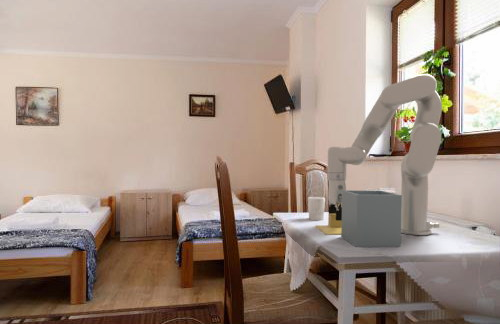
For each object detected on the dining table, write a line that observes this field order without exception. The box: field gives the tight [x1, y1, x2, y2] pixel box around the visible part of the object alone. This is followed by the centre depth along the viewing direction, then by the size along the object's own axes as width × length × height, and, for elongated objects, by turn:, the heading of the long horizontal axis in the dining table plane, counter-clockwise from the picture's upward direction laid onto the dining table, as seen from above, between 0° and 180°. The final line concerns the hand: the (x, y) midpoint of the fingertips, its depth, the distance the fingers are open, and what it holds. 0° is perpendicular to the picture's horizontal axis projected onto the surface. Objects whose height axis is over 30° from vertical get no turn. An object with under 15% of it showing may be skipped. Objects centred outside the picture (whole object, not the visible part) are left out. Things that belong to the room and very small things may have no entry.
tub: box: [340, 189, 402, 248], centre depth 131 cm, size 15×15×17 cm
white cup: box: [307, 196, 326, 221], centre depth 175 cm, size 8×8×10 cm
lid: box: [315, 212, 342, 236], centre depth 150 cm, size 16×16×6 cm
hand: (335, 218), depth 155 cm, fingers open, 9 cm apart
